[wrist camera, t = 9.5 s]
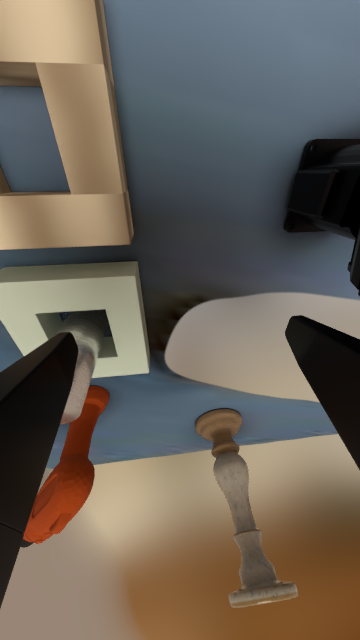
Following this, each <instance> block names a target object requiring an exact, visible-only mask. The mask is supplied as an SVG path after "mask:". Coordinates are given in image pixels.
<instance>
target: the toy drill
mask: <svg viewBox="0 0 360 640" xmlns="http://www.w3.org/2000/svg"><path fill="white" fill-rule="evenodd" d="M108 401H109V392H108V391H107V390H106V389H104V388H102V387H98V386H89V388H88V391H87V395H86V398H85V401H84V405H83V408H82V411H81V414H80V416H79V417H78V418H77V419H76V420H74V421H72V422H70V426H69V430H68V433H67V437H66V441H65V445H64V448H63V451H62V454H61V457H60V462H59V464H58V465H57V466H56V467H55V469H54V470H53V471H52V473H51V474H50V475H49V477H48V478H47V480H46V481H45V483H44V485H43V486H42V488H41V489H40V491H39V493H38V494H37V496H36V499H35V502H34V505H33V508H32V511H31V515H30V518H29V521H28V524H27V527H26V530H25V532H24V537H23V540H22V543H21V546H20V547H28V546H30V545H31V544H33V543H34V542H35V543H36V544H39V543H42V542H43V541H45V540H46V539H48V538H49V537H51V536H52V535H53V534H58V533H60V532H61V531H62V530H63V529H64V527H65V526H66V524H67V523H68V522H69V521H70V520H71V519H72V518H73V517H74V516H75V515H76V514H77V512H78V511H79V510H80V509H81V507H82V506H83V504H84V503H85V501H86V500H87V498H88V496H89V494H90V492H91V489H92V486H93V481H94V476H95V475H94V466H93V464H92V463H91V462H90V460H89V459H88V453H89V448H90V442H91V437H92V434H93V430H94V427H95V424H96V422H97V419H98V417H99V415H100V414H101V413H102V412H103V410H104V409H105V407H106V405H107V403H108Z"/></svg>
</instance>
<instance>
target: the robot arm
mask: <svg viewBox="0 0 360 640" xmlns="http://www.w3.org/2000/svg"><path fill="white" fill-rule="evenodd" d="M312 145H314V149H313V151H312V152H311V146H312ZM290 224H292V226H291V228H289V225H290ZM284 230H285V231H287V232H317V231H329V232H332V233H335V234H338V235H342V236H345V237H348V238H351V239H354V240H355V244H354V248H353V253H352V258H351V261H350V262H349V264H348V271H349V272H350V281H351V282H352V284H353V285H354V286H355V287H356V288H357V289H358V290H359V293H358V295H359V296H360V139H315V140H311V141H309V142H308V143H307V144H306V146H305V148H304V152H303V156H302V160H301V164H300V167H299V171H298V173H297V174H296V177H295V181H294V185H293V189H292V193H291V197H290V200H289V204H288V213H287V216H286V220H285V224H284ZM285 336H286V338H287V341H288V343H289V345H290V347H291V349H292V352H293V354H294V356H295V358H296V361H297V363H298V365H299V367H300V369H301V371H302V372H303V374H304V376H305V377H306V379H307V381H308V382H309V384H310V386H311V388H312V389H313V391H314V393H315V394H316V396H317V398H318V400H319V401H320V403H321V405H322V406H323V408H324V410H325V412H326V413H327V415H328V417H329V418H330V420H331V422H332V424H333V425H334V427H335V429H336V430H337V432H338V434H339V436H340V437H341V439H342V441H343V442H344V444H345V446H346V447H347V449H348V451H349V453H350V454H351V456H352V458H353V459H354V461H355V463H356V464H357V466H358V468H359V470H360V339H357V338H355V337H352V336H350V335H348V334H345V333H343V332H340V331H338V330H336V329H333V328H331V327H329V326H326V325H324V324H321V323H319V322H316V321H314V320H312V319H309V318H307V317H304V316H301V315H300V316H292V317H291V318H290V320H289V323H288V325H287V328H286V331H285ZM78 353H79V349H78V346H77V343H76V341H75V338H74V336H73V334H72V333H71V332H60V333H58V334H56V335H55V336H54V337H52V338H51V339H49V340H48V341H46V342H45V343H43V344H42V345H40V346H39V347H37V348H36V349H34V350H33V351H31V352H30V353H28V354H27V355H25V356H24V357H23V358H21V359H20V360H18V361H17V362H15V363H14V364H12V365H11V366H9V367H8V368H6V369H5V370H3V371H2V372H0V608H1V605H2V602H3V599H4V595H5V592H6V589H7V586H8V583H9V580H10V577H11V573H12V571H13V568H14V565H15V562H16V558H17V555H18V552H19V549H20V546H21V543H22V540H23V537H24V532H25V530H26V527H27V524H28V521H29V518H30V515H31V511H32V508H33V505H34V502H35V499H36V496H37V493H38V490H39V487H40V484H41V481H42V478H43V474H44V471H45V468H46V465H47V462H48V459H49V456H50V453H51V450H52V447H53V444H54V441H55V437H56V434H57V431H58V428H59V425H60V422H61V419H62V416H63V413H64V410H65V407H66V404H67V400H68V397H69V394H70V391H71V388H72V383H73V378H74V373H75V368H76V363H77V358H78Z"/></svg>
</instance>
